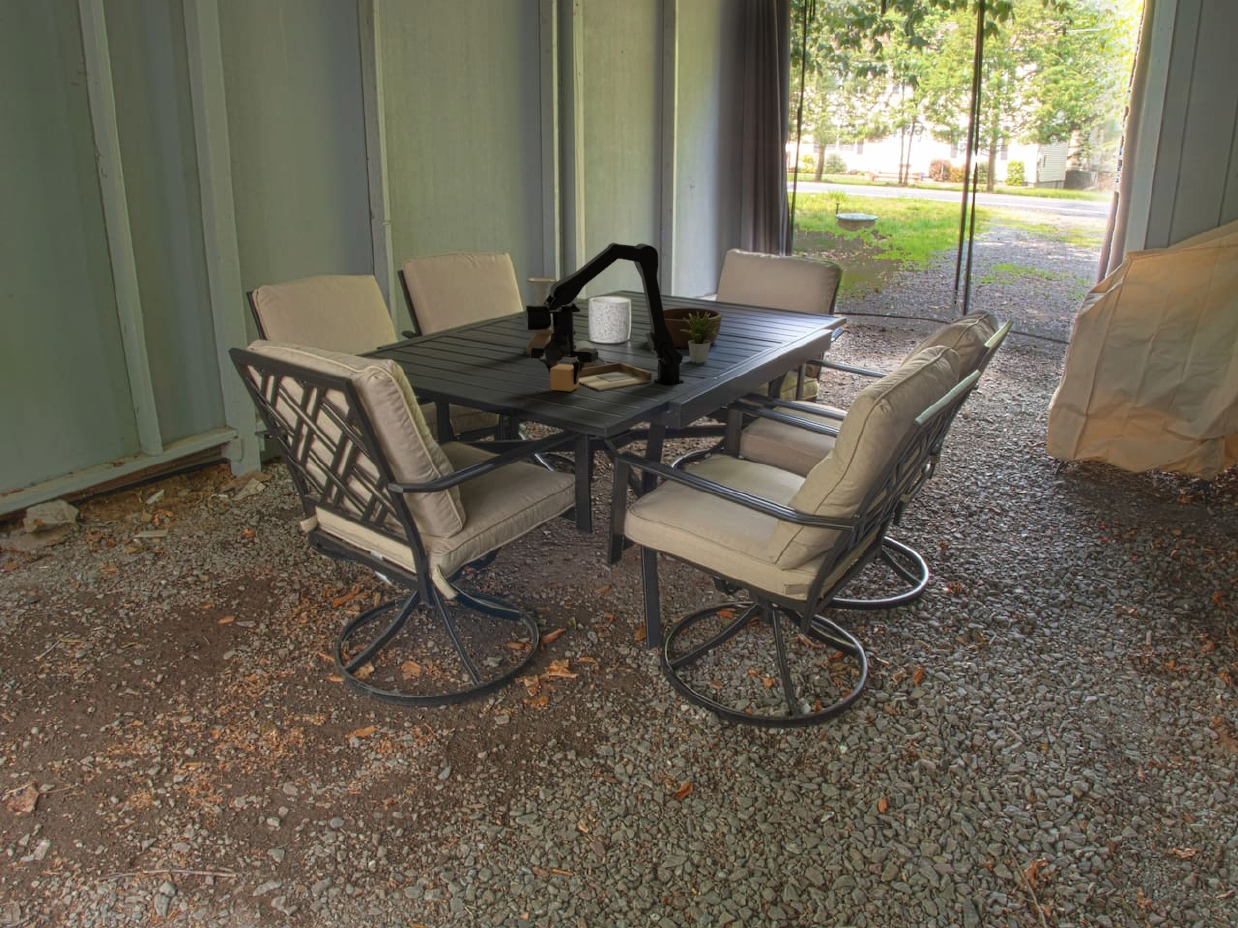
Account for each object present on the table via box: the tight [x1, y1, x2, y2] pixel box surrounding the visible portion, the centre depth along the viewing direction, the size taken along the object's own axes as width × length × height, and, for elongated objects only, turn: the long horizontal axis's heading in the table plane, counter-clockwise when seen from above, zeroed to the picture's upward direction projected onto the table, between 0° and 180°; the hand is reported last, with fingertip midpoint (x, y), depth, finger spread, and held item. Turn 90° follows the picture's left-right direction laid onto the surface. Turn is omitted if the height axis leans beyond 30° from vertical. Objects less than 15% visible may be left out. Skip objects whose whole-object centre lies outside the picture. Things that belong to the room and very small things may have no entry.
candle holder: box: [525, 276, 558, 355], centre depth 290 cm, size 11×11×24 cm
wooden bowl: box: [648, 307, 723, 349], centre depth 302 cm, size 25×25×10 cm
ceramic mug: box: [571, 340, 607, 368], centre depth 270 cm, size 11×8×8 cm
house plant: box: [680, 311, 723, 364], centre depth 274 cm, size 14×14×16 cm
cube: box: [549, 363, 580, 392], centre depth 245 cm, size 6×6×6 cm
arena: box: [579, 361, 653, 392], centre depth 255 cm, size 16×18×3 cm
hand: (565, 383), depth 246 cm, fingers closed on cube, 6 cm apart
